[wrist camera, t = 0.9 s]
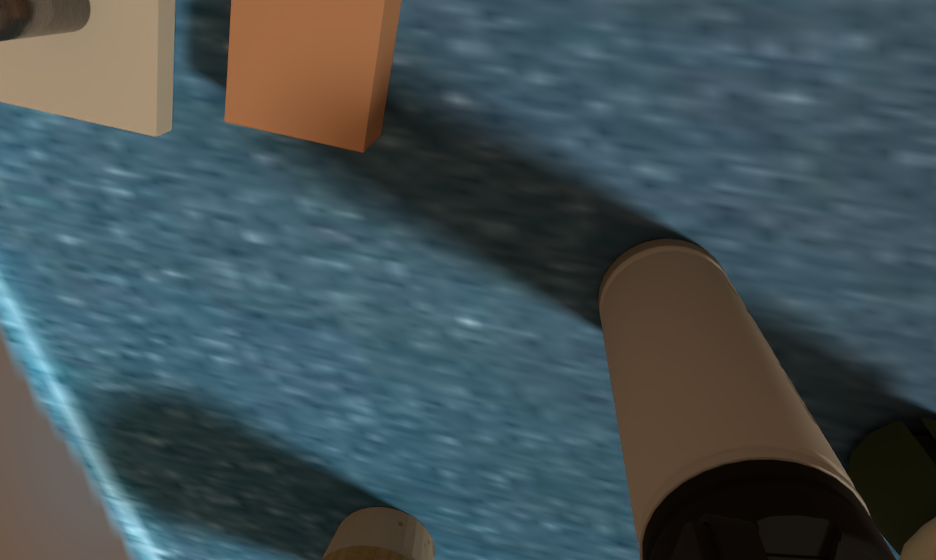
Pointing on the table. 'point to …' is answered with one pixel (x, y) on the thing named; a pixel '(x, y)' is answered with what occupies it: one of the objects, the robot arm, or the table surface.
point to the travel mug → (717, 416)
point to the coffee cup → (380, 537)
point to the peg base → (99, 68)
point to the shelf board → (311, 68)
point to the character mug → (899, 487)
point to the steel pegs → (41, 17)
